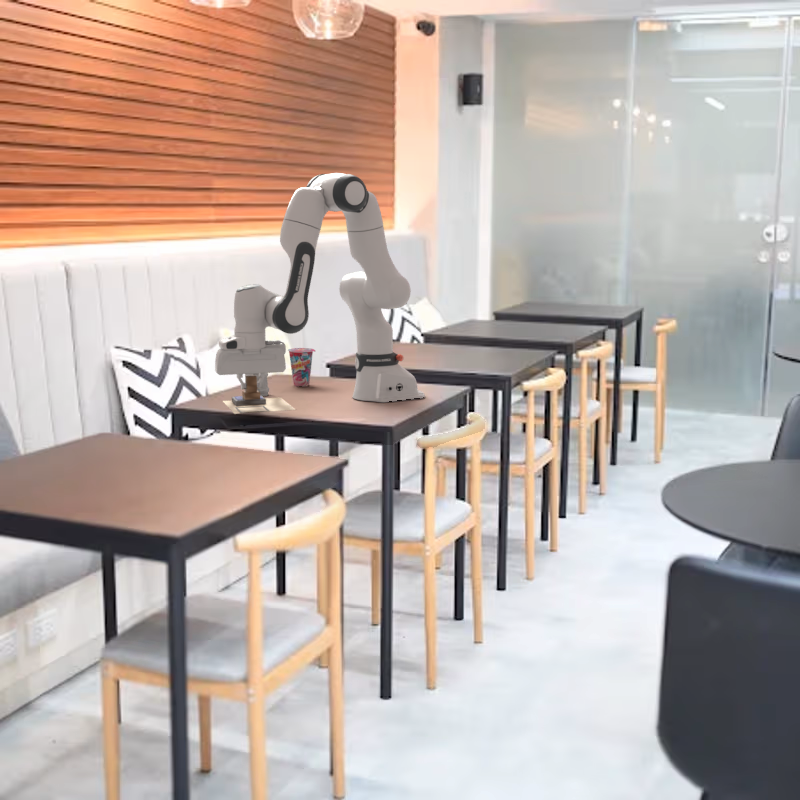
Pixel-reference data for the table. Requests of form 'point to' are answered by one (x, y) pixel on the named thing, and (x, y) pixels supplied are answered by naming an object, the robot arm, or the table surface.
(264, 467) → the table surface
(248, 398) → the stamp
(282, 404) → the board
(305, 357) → the cup
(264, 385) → the mug
